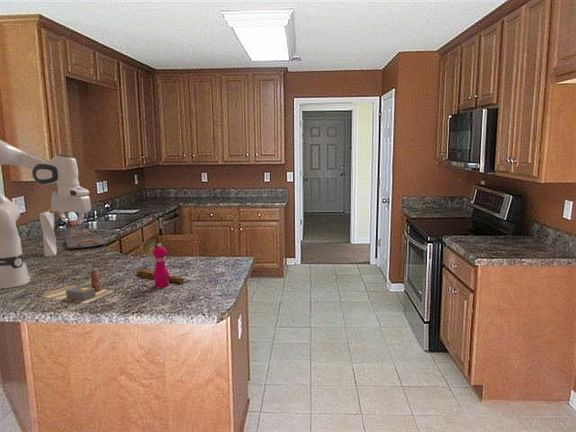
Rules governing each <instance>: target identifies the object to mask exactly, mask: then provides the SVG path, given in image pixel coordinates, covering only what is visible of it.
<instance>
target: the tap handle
mask: <svg viewBox="0 0 576 432" xmlns="http://www.w3.org/2000/svg"><path fill="white" fill-rule="evenodd" d="M154 271H155V270H149V269H138V270H137V271H136V274H137V276H140V277H141V276H142V277H143V278H146V277H148V278H147V279H151V278H153V274H154ZM142 277H141V278H142ZM168 281H169V283H170V282H171V283H174V284H175V283H177V284H179V285H180V284H183V283H184V281H185V280H184V278H183V277H180V276H179V277H178V276H174V275H169V279H168Z"/></svg>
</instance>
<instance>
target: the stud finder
mask: <svg viewBox="0 0 576 432" xmlns="http://www.w3.org/2000/svg"><path fill="white" fill-rule="evenodd" d="M75 286H76V287H73V288H71V289H68V290H66V296H67V298H69V299H76V300H82V301H86V300H88V299H90V298H93V297H95V296H96V293H95V288H92V287H88V286H79V285H75Z"/></svg>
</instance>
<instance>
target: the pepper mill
mask: <svg viewBox="0 0 576 432" xmlns="http://www.w3.org/2000/svg"><path fill="white" fill-rule="evenodd" d="M152 255H153V257H154V261H155V269H154V270H153V271H154V274H153V279H152V280H153V281H154V287H155V288H165V287H168V286H169V284H170V281H168V279H169V276H170V273H169V271H168V269H167V266H166V255H167V249H166V248H165V247H164V246H162V243H157V244H156V247H154V248H153V250H152Z"/></svg>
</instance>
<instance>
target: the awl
mask: <svg viewBox="0 0 576 432" xmlns="http://www.w3.org/2000/svg"><path fill="white" fill-rule="evenodd" d="M89 275H90V283H91V288H95V292H99V291H100V289H101V281H100V271H99V270H98V268H96V264H95V262H93V263H92V268H91V269H90V274H89Z"/></svg>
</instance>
